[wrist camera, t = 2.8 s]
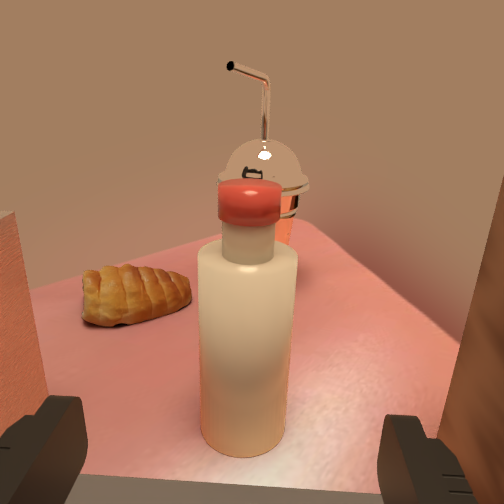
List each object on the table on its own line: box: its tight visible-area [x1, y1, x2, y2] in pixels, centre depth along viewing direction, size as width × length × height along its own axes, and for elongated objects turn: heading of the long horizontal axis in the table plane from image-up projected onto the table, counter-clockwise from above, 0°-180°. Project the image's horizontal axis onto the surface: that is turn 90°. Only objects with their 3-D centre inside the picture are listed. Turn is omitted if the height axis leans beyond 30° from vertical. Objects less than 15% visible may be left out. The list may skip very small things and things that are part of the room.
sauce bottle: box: [198, 178, 298, 458], centre depth 23 cm, size 5×5×14 cm
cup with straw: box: [217, 61, 309, 245], centre depth 40 cm, size 8×9×20 cm
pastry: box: [82, 264, 192, 327], centre depth 38 cm, size 9×7×4 cm
